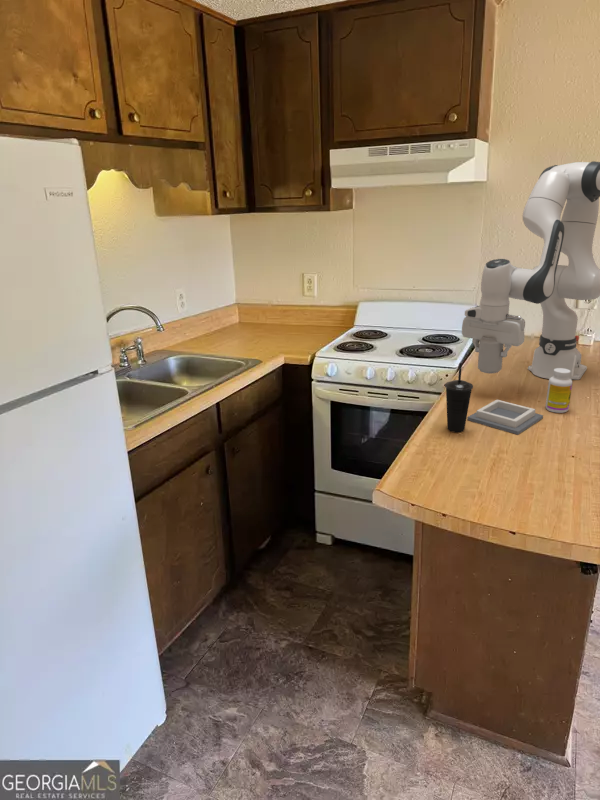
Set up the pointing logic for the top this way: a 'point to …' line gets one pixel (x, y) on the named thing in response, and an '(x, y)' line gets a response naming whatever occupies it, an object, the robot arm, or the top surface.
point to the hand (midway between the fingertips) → (490, 354)
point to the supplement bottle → (559, 391)
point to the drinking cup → (457, 403)
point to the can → (490, 355)
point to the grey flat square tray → (506, 416)
